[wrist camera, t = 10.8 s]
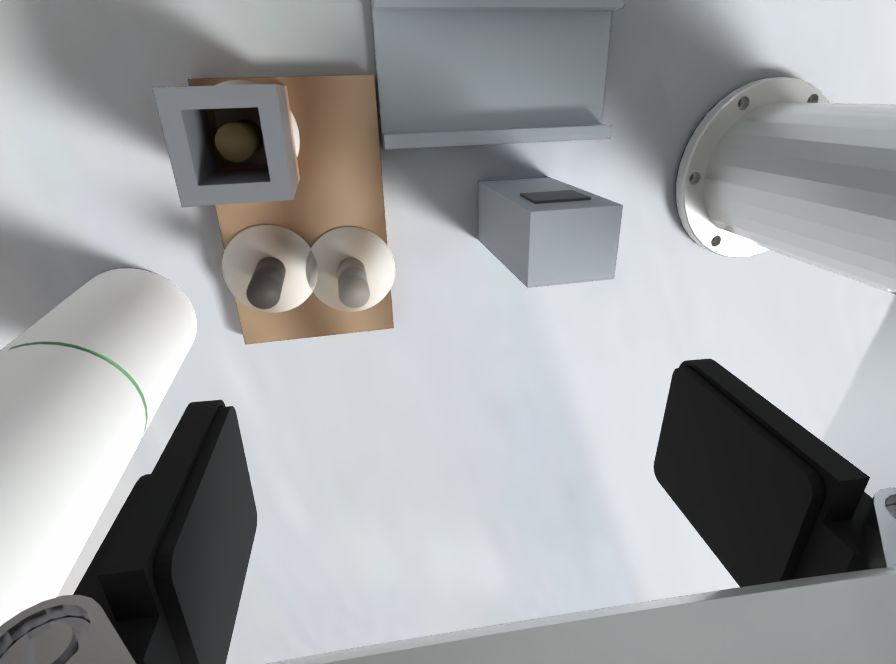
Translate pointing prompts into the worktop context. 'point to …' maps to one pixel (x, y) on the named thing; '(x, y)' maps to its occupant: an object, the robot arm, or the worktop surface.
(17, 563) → the cylindrical container
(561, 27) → the chute
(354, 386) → the worktop surface
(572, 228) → the gray rectangular block
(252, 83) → the pin board
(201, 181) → the sleeve
